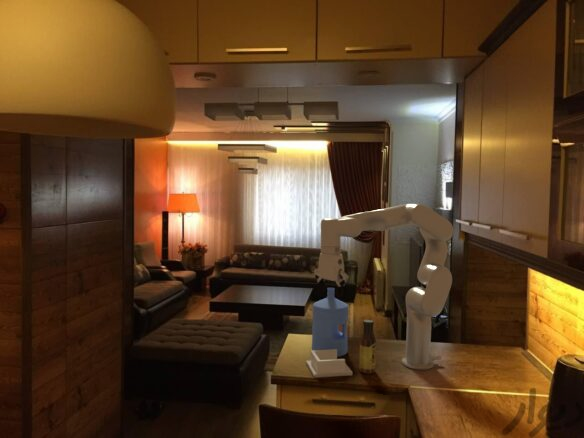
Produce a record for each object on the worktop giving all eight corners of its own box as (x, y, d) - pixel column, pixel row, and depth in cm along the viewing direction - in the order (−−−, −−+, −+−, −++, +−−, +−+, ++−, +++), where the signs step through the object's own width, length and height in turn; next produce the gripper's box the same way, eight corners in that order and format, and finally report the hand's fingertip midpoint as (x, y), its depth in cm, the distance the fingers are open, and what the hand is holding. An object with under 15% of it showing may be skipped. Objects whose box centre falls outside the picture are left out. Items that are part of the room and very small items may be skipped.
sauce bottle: (375, 375, 175) (376, 324, 174) (358, 373, 176) (360, 322, 175) (375, 368, 181) (376, 319, 180) (359, 367, 183) (360, 318, 181)
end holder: (341, 361, 188) (342, 348, 188) (352, 375, 175) (352, 360, 174) (306, 363, 186) (306, 349, 185) (314, 377, 172) (314, 362, 171)
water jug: (307, 355, 194) (308, 290, 193) (316, 344, 209) (317, 283, 208) (343, 360, 190) (345, 293, 188) (350, 348, 205) (351, 286, 203)
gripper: (354, 251, 172) (354, 296, 173) (321, 247, 185) (321, 289, 186) (340, 253, 167) (340, 299, 168) (307, 249, 180) (308, 292, 181)
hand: (330, 294), depth 177 cm, fingers open, 9 cm apart
